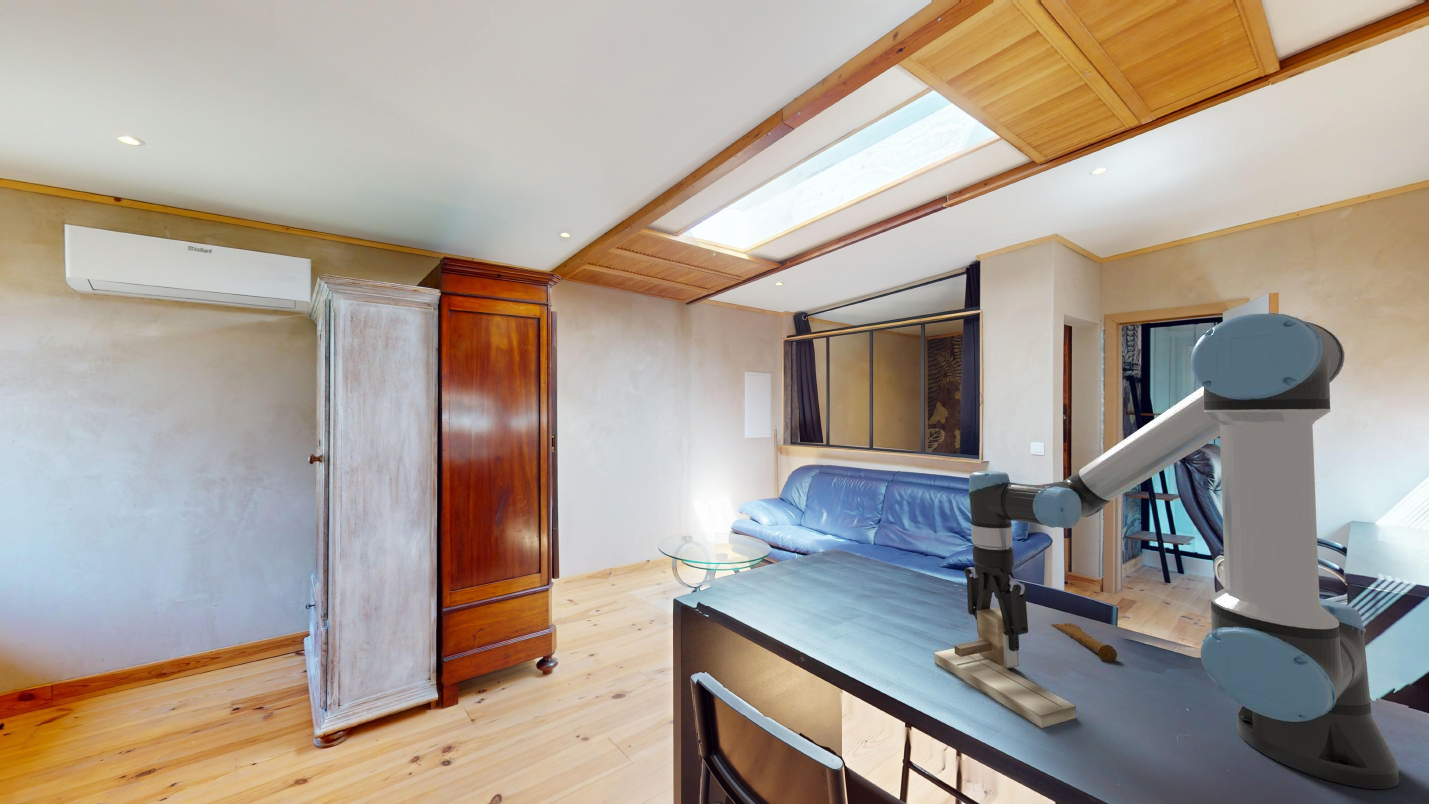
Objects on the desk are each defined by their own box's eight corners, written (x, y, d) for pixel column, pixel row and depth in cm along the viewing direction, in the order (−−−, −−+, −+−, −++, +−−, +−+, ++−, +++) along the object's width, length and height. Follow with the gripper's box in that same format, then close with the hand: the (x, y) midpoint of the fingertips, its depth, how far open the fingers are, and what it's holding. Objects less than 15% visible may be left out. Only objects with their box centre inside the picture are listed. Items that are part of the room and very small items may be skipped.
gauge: (1018, 666, 98) (1016, 616, 99) (968, 677, 94) (965, 625, 95) (997, 655, 103) (995, 607, 104) (949, 665, 99) (946, 616, 100)
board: (1076, 717, 82) (1075, 705, 82) (1041, 727, 80) (1040, 715, 80) (964, 655, 105) (963, 646, 105) (934, 662, 102) (933, 652, 103)
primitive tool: (1049, 625, 120) (1049, 611, 120) (1073, 626, 119) (1073, 612, 119) (1100, 663, 101) (1099, 646, 101) (1129, 664, 100) (1128, 647, 100)
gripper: (1046, 553, 94) (1054, 676, 93) (971, 535, 111) (977, 638, 110) (1017, 557, 92) (1025, 683, 90) (945, 538, 109) (950, 643, 107)
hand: (998, 658), depth 100 cm, fingers closed on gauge, 5 cm apart
